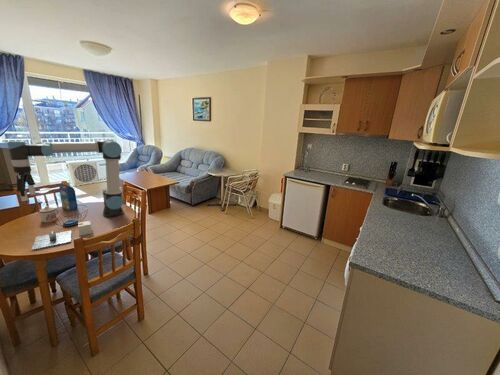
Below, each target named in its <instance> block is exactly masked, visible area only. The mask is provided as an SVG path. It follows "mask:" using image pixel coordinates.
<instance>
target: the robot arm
mask: <svg viewBox="0 0 500 375" xmlns="http://www.w3.org/2000/svg"><path fill="white" fill-rule="evenodd" d="M7 147H8V148H7V149H8V152H9V156H10V159H11V160H10V163H11V164H12V166H13V167H12V168H13V172H14V173H15V174H16V191H17V192H19V195H20V199H21V202H28V201H29V197H28V194H27V190H26V183H27V188H28V193H29V195H31V196H33V195H36V194H37V192H36V189H35V186H36V182H35V179H34V178H33V176H32V173H31V172H32V166H31V163H30V157H51V156H54V154H67V153H69V154H70V153H72V154H74V153H97V154H102V160H105V175H106V176H105V177H106V188H105V189H103V190H102V196H103V206H104V208H103V211H102V215H103V217H105V218H115V217H119V216H121V215H123V214H124V209H123V205H124V199H123V191H122V190H121V188H120V186H121V185H120V183H121V182H120V165H119V164H120V163H119V162H120V160H121V159H122V155H121V154H122V150H123V149H122V146H121V145H120V143H119V142H117V141H114V140H112V139H105V140H95V141H81V142H80V141H77V142H75V141H73V142H71V141H70V142H63V141H62V142H44V141H41V142H40V141H39V142H37V143H36V144H35V143H34V144H26V141H24V140H10V141H7ZM17 174H18V175H17Z"/></svg>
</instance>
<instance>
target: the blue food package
mask: <svg viewBox="0 0 500 375" xmlns="http://www.w3.org/2000/svg"><path fill="white" fill-rule="evenodd" d="M58 190H59V191H58V192H59V197H60V202H61V206H62V209H64V210H66V211H70V212H72V211H75V210H78V209H79V208H78V202H77V196H76V190H75V188H74V187H72V186H71V184H70V182H67V181H64V180H61V185H60V186H59V189H58Z"/></svg>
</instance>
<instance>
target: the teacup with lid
mask: <svg viewBox="0 0 500 375" xmlns="http://www.w3.org/2000/svg"><path fill="white" fill-rule="evenodd" d="M38 212H39V216H40V220H41V222H42V223H52V222H54V221H56V220H57V219H58V218H57V215H59V209H57V208H54V207H50V206H48V205H47V206H44V208H40V209H39V211H38Z"/></svg>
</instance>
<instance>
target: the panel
mask: <svg viewBox="0 0 500 375" xmlns="http://www.w3.org/2000/svg"><path fill="white" fill-rule="evenodd" d="M67 243H68V244H72V230H66V231H62V232H56V231H55V230H52V231H51V230H50V231H49V232H48V234H44V235H38V236H36V237H35V240H34V242H33V245H32V247H31V251H32V250H34V251H39V250H43V248H44V249H47V248H48V247H49V248H53V247H58V246H62V244H63V245H68V244H67ZM57 245H58V246H57ZM52 246H53V247H52ZM38 249H39V250H38Z"/></svg>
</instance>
